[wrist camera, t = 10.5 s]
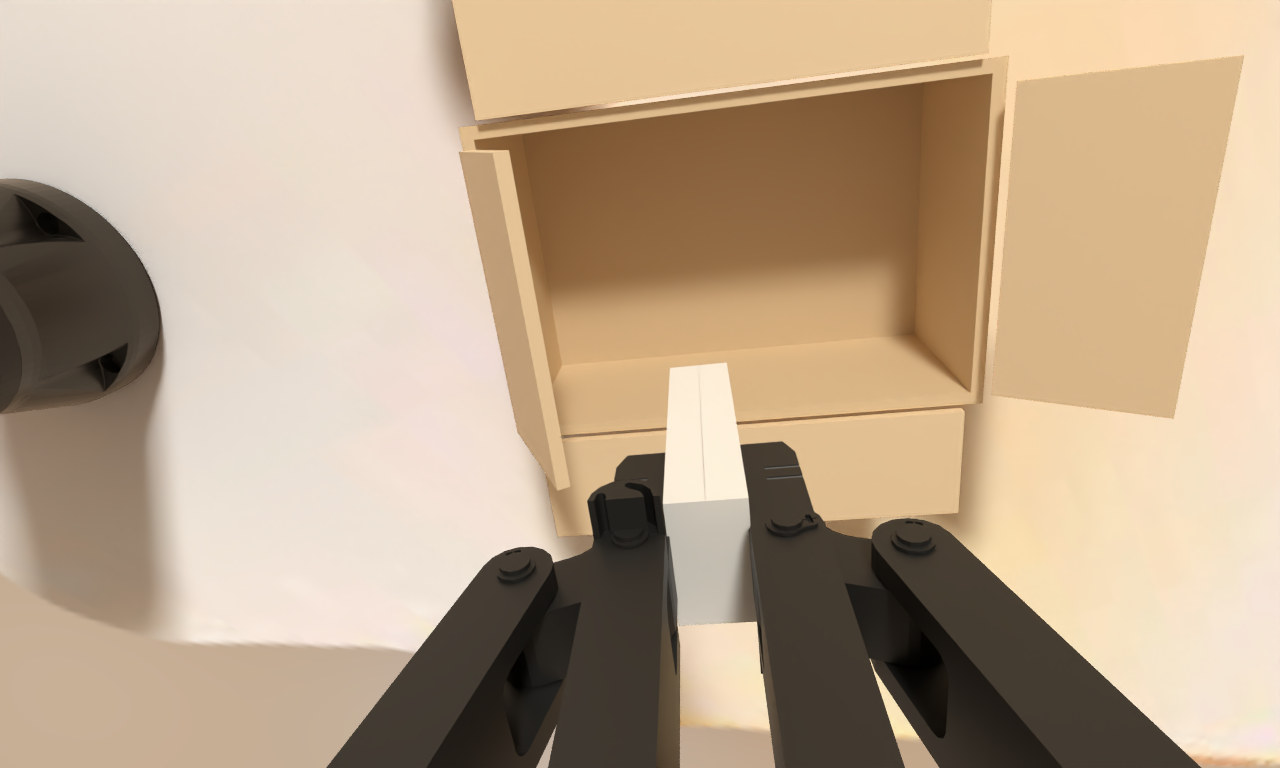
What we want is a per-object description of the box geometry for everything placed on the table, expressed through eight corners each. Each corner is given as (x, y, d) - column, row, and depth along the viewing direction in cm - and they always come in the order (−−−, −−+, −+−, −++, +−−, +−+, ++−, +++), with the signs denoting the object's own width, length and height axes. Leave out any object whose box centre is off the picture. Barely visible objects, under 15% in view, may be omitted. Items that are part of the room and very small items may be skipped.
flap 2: (991, 395, 33) (1173, 418, 29) (1016, 81, 28) (1243, 55, 24) (994, 390, 33) (1173, 413, 29) (1019, 80, 28) (1243, 54, 24)
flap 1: (517, 432, 35) (557, 490, 29) (458, 152, 30) (492, 152, 24) (528, 429, 36) (570, 486, 30) (472, 150, 30) (508, 150, 24)
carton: (570, 451, 49) (540, 537, 39) (490, 3, 38) (422, -30, 28) (919, 425, 46) (979, 511, 36) (938, -64, 35) (1030, -126, 26)
